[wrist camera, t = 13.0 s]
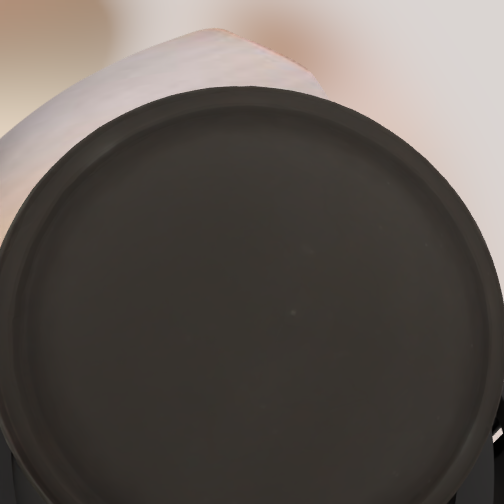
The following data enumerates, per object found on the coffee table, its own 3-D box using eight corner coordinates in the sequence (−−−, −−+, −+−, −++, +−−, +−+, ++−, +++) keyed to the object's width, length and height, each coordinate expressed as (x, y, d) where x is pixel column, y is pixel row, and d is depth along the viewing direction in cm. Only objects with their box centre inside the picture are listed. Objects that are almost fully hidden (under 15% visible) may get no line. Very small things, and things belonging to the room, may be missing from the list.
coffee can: (157, 274, 18) (67, 91, 5) (311, 280, 19) (445, 127, 6) (150, 430, 14) (7, 535, 1) (315, 431, 15) (493, 506, 2)
